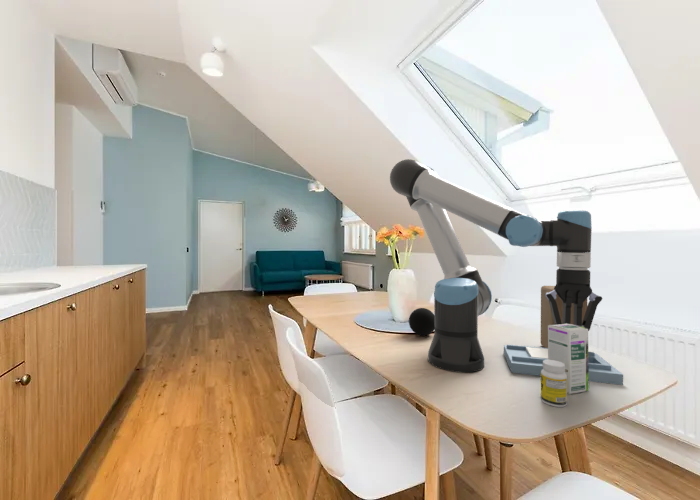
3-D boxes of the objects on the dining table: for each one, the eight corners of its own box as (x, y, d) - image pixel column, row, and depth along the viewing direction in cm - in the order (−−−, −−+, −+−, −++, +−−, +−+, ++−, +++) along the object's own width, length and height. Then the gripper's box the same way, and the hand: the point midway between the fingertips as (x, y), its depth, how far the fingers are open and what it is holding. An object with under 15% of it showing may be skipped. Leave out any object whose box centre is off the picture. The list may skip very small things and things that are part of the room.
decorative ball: (440, 338, 117) (440, 310, 116) (413, 339, 115) (414, 311, 115) (430, 331, 127) (430, 305, 126) (405, 332, 125) (405, 306, 125)
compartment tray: (511, 372, 85) (511, 359, 85) (503, 353, 100) (503, 342, 100) (623, 384, 77) (623, 370, 77) (596, 362, 93) (596, 349, 93)
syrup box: (569, 395, 72) (570, 329, 72) (547, 384, 78) (547, 323, 78) (589, 391, 74) (589, 328, 74) (565, 381, 80) (565, 322, 79)
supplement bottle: (543, 394, 72) (543, 357, 72) (568, 401, 69) (568, 362, 69) (538, 402, 69) (538, 363, 69) (564, 410, 66) (565, 368, 66)
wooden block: (588, 356, 97) (589, 290, 97) (551, 354, 99) (552, 289, 99) (572, 346, 107) (573, 285, 107) (539, 344, 109) (539, 285, 109)
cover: (532, 360, 87) (532, 349, 87) (525, 350, 95) (525, 340, 95) (573, 364, 84) (573, 353, 84) (563, 353, 92) (563, 343, 92)
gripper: (549, 268, 86) (547, 357, 86) (608, 270, 82) (606, 363, 82) (542, 266, 93) (540, 349, 93) (596, 268, 89) (594, 354, 89)
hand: (571, 355), depth 88 cm, fingers closed
